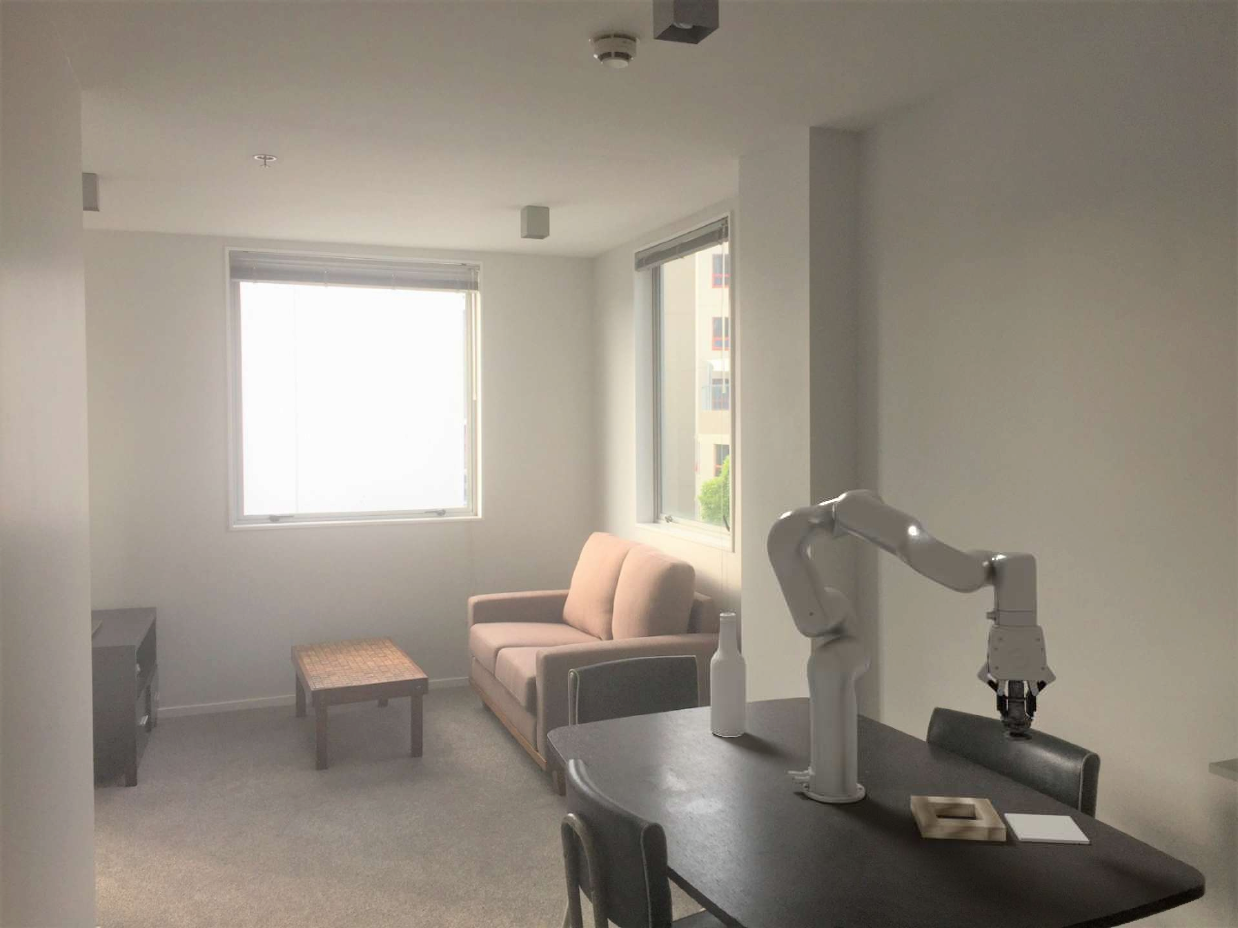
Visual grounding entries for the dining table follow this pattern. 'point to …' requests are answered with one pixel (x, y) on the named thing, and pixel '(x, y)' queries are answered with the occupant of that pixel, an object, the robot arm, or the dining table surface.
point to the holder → (979, 829)
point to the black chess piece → (1016, 714)
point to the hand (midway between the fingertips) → (1016, 713)
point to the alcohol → (728, 682)
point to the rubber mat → (1046, 828)
